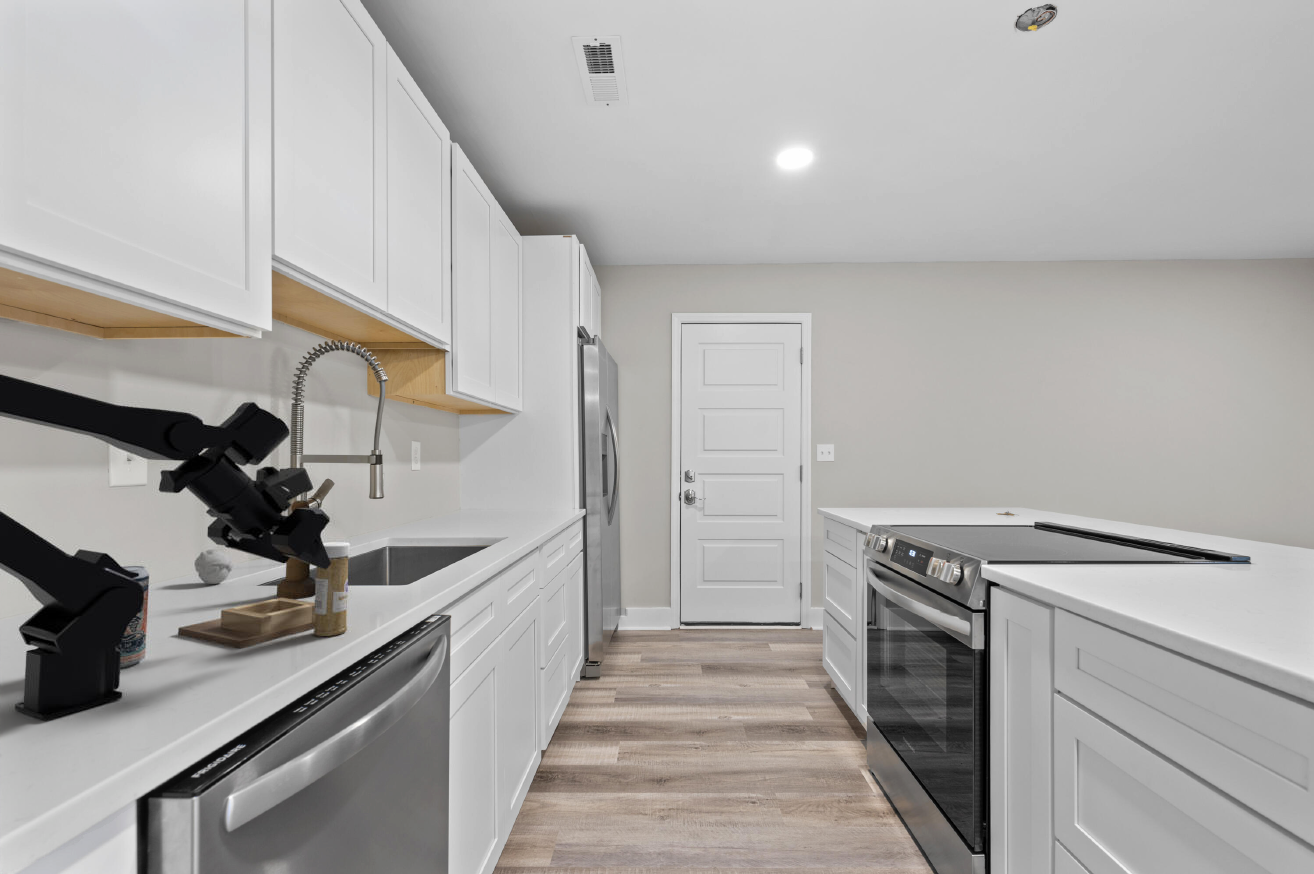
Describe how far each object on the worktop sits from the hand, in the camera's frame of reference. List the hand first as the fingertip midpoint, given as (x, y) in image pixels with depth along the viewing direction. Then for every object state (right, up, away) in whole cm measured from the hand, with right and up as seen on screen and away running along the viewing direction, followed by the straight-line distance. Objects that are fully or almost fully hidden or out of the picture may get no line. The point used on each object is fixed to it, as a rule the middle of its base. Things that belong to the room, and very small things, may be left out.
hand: (307, 563), depth 88 cm
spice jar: (+2, -11, +3) cm, 12 cm away
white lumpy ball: (-40, -12, +36) cm, 55 cm away
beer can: (-17, -11, -12) cm, 23 cm away
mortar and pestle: (-17, -12, +27) cm, 34 cm away
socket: (-10, -11, +5) cm, 16 cm away
